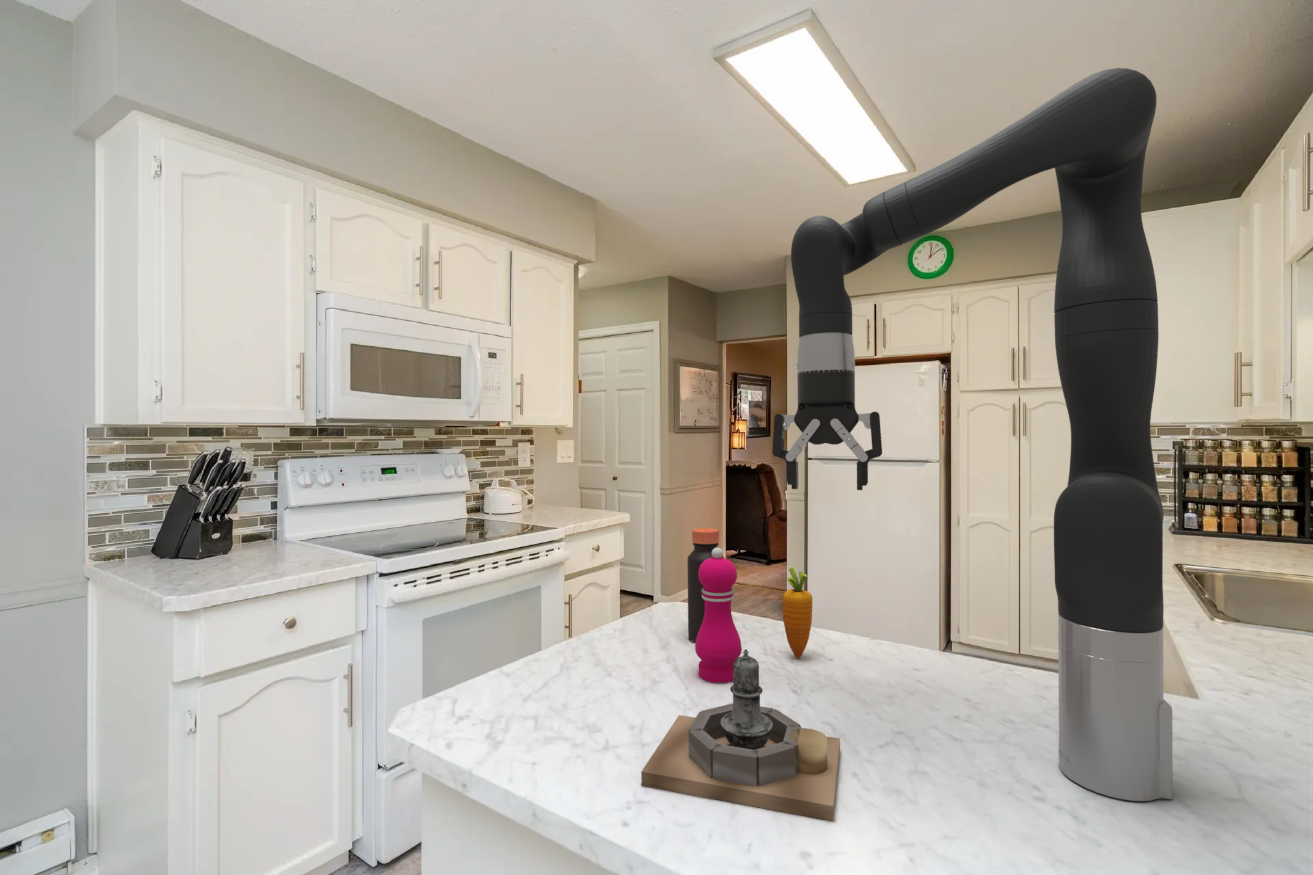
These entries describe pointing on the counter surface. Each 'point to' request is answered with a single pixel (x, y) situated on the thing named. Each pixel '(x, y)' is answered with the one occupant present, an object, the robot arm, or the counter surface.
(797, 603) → the carrot
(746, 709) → the salt shaker
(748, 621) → the counter surface
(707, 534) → the bottle
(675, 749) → the board
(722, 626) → the pepper mill
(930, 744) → the counter surface
